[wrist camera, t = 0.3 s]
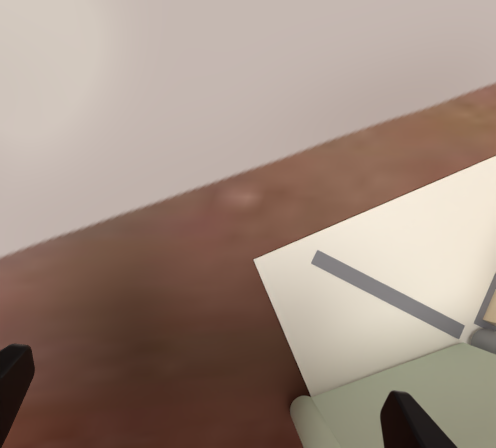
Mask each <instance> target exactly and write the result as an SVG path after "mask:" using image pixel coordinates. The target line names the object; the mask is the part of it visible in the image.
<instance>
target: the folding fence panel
mask: <svg viewBox="0 0 496 448" xmlns="http://www.w3.org/2000/svg"><path fill="white" fill-rule="evenodd" d="M392 390H397V391H405V392H408V393H409V394H410V395H411V396H412V397H413V398H414V399H415V400H416V401H417V403H418V404H419V405H420V406H421V407H422V408H423V409H424V410H425V411H426V413H427V414H428V415H429V416H430V417H431V418H432V419H433V420H434V422H435V423H436V424H437V425H438V426H439V427H440V428H441V429H442V431H443V432H444V433H445V434H446V435H447V436H448V437H449V438H450V439H451V441H452V442H453V443H454V444H455V445H456V446H457V447H458V448H496V331H494V330H490V329H480V330H478V331H476V332H475V333H474V335H473V336H472V339H471V345H469V344H466V343H464V342H462V343H460V344H457V345H454V346H451V347H449V348H446V349H443V350H440V351H438V352H435V353H432V354H429V355H427V356H424V357H421V358H418V359H416V360H413V361H410V362H407V363H405V364H402V365H399V366H396V367H394V368H391V369H388V370H385V371H383V372H380V373H377V374H374V375H372V376H369V377H366V378H363V379H361V380H358V381H355V382H352V383H350V384H347V385H344V386H341V387H339V388H336V389H333V390H330V391H328V392H325V393H322V394H319V395H317V396H314V397H309V396H299V397H297V398H296V399H295V400H294V401H293V402H292V404H291V406H290V415H291V418H292V420H293V423H294V425H295V428H296V430H297V432H298V435H299V437H300V440H301V442H302V445H303V447H304V448H384V443H383V436H382V429H381V422H380V412H381V409H382V407H383V404H384V402H385V400H386V398H387V396H388V394H389V393H390V392H391V391H392Z"/></svg>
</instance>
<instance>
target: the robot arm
mask: <svg viewBox="0 0 496 448" xmlns="http://www.w3.org/2000/svg"><path fill="white" fill-rule="evenodd" d="M34 371H35V367H34V361H33V356H32V350H31V347H30V346H28V345H22V344H11V345H9V346H7V347H5V348H4V349H2V350H1V351H0V448H1V447H2V445H3V443H4V441H5V439H6V437H7V435H8V433H9V431H10V428H11V426H12V424H13V422H14V419H15V417H16V415H17V413H18V410H19V408H20V406H21V404H22V401H23V399H24V397H25V395H26V392H27V390H28V388H29V386H30V383H31V381H32V379H33V376H34ZM380 422H381V429H382V436H383V443H384V448H458V447H457V446H456V445H455V444H454V443H453V442H452V441H451V439H450V438H449V437H448V436H447V435H446V434H445V433H444V432H443V431H442V429H441V428H440V427H439V426H438V425H437V424H436V423H435V422H434V420H433V419H432V418H431V417H430V416H429V415H428V414H427V413H426V411H425V410H424V409H423V408H422V407H421V406H420V405H419V404H418V403H417V401H416V400H415V399H414V398H413V397H412V396H411V395H410V394H409V393H408V392H405V391H397V390H392V391H391V392H390V393H389V394H388V396H387V398H386V400H385V402H384V404H383V407H382V409H381V412H380Z"/></svg>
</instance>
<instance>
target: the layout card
mask: <svg viewBox="0 0 496 448" xmlns="http://www.w3.org/2000/svg"><path fill="white" fill-rule="evenodd" d="M253 260H254V263H255V265H256V268H257V270H258V272H259V275H260V277H261V279H262V282H263V284H264V286H265V289H266V291H267V294H268V296H269V298H270V301H271V303H272V305H273V308H274V310H275V313H276V315H277V317H278V320H279V322H280V324H281V327H282V329H283V331H284V334H285V336H286V339H287V341H288V343H289V346H290V348H291V350H292V353H293V355H294V358H295V360H296V362H297V365H298V367H299V369H300V372H301V374H302V376H303V379H304V381H305V384H306V386H307V388H308V391H309V393H310V395H311V397H314V396H317V395H319V394H322V393H325V392H328V391H330V390H333V389H336V388H339V387H341V386H344V385H347V384H350V383H352V382H355V381H358V380H361V379H363V378H366V377H369V376H372V375H374V374H377V373H380V372H383V371H385V370H388V369H391V368H394V367H396V366H399V365H402V364H405V363H407V362H410V361H413V360H416V359H418V358H421V357H424V356H427V355H429V354H432V353H435V352H438V351H440V350H443V349H446V348H449V347H451V346H454V345H457V344H460V343H462V342H464V343H466V344H469V345H471V339H472V336H473V335H474V333H475V332H476V331H478V330H480V329H490V330H494V331H496V326H494V325H492V324H490V323H488V322H486V321H484V320H482V319H483V317H484V315H485V313H486V310H487V308H488V306H489V303H490V301H491V299H492V296H493V294H494V292H495V289H496V156H494V157H492V158H489V159H487V160H485V161H482V162H480V163H478V164H475V165H473V166H471V167H468V168H466V169H464V170H461V171H459V172H457V173H454V174H452V175H450V176H447V177H445V178H443V179H440V180H438V181H436V182H433V183H431V184H429V185H426V186H424V187H422V188H419V189H417V190H415V191H412V192H410V193H408V194H405V195H403V196H401V197H398V198H396V199H394V200H391V201H389V202H387V203H384V204H382V205H380V206H377V207H375V208H373V209H370V210H368V211H366V212H363V213H361V214H359V215H356V216H354V217H352V218H349V219H347V220H345V221H342V222H340V223H338V224H335V225H333V226H331V227H328V228H326V229H324V230H321V231H319V232H317V233H314V234H312V235H310V236H307V237H305V238H303V239H300V240H298V241H296V242H293V243H291V244H288V245H286V246H284V247H281V248H279V249H277V250H274V251H272V252H270V253H267V254H265V255H263V256H260V257H258V258H256V259H253Z"/></svg>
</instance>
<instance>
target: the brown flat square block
mask: <svg viewBox="0 0 496 448" xmlns="http://www.w3.org/2000/svg"><path fill="white" fill-rule="evenodd" d="M482 320H484V321H486V322H488V323H490V324H492V325H494V326H496V289H495V292H494V294H493V296H492V299H491V301H490V303H489V306H488V308H487V310H486V313H485V315H484V317H483V319H482Z"/></svg>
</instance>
